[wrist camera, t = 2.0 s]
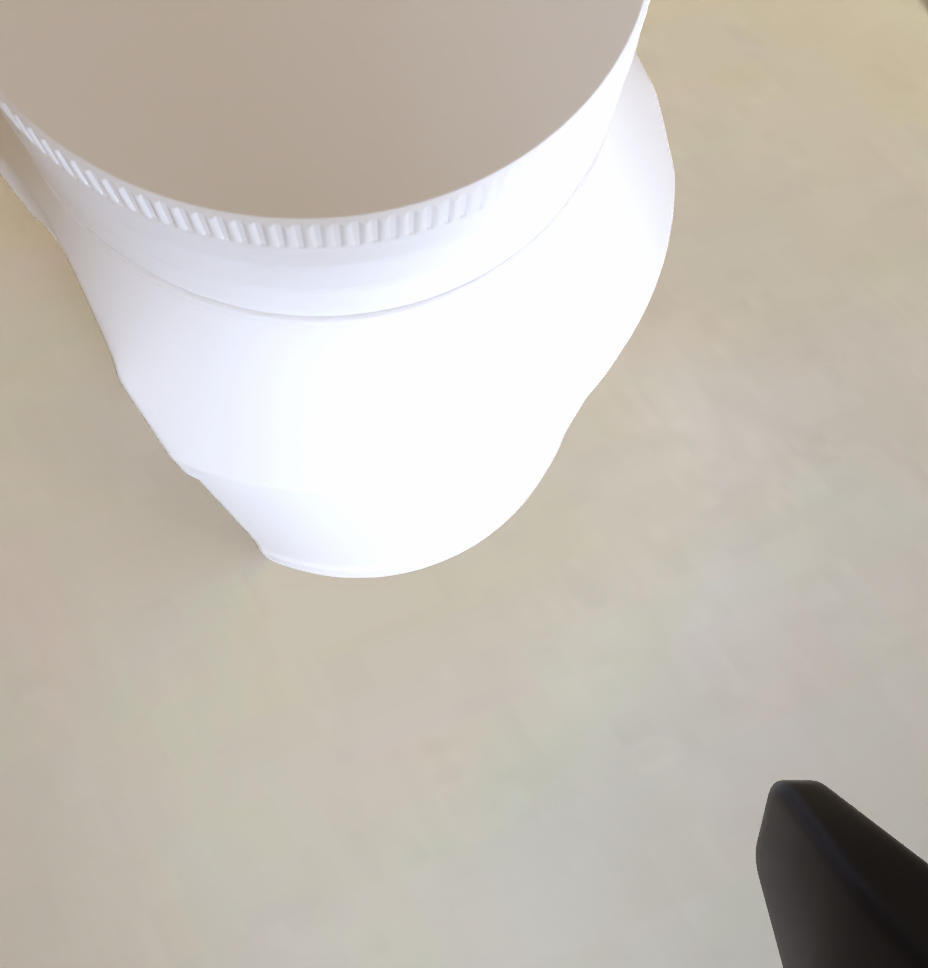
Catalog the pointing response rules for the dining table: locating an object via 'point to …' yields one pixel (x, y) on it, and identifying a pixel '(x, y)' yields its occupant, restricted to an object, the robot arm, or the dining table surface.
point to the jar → (348, 242)
